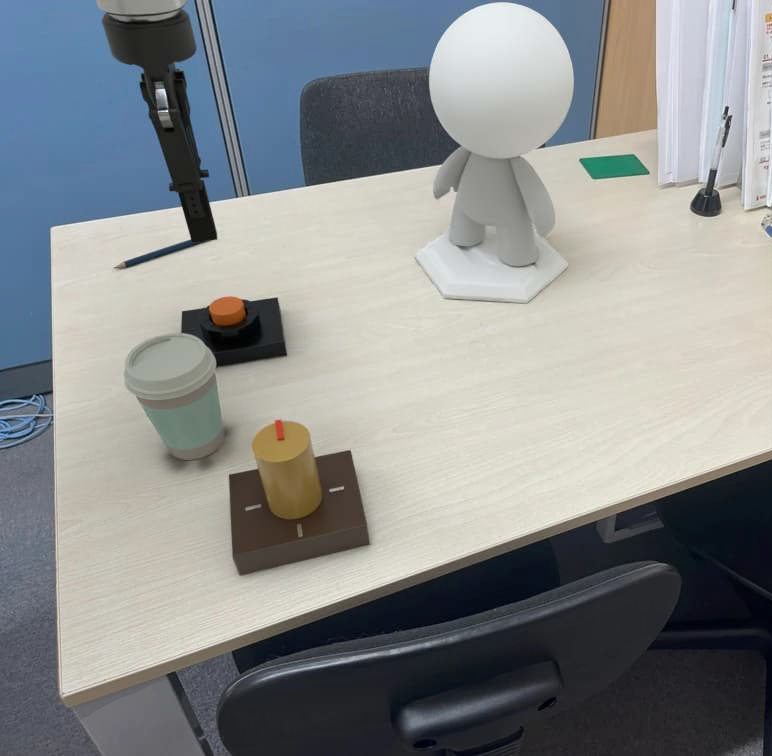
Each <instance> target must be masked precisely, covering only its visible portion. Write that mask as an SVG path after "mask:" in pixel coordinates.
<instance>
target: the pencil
mask: <svg viewBox="0 0 772 756" xmlns="http://www.w3.org/2000/svg"><path fill="white" fill-rule="evenodd" d="M205 242H207V241H201V242H192V241H191V238H190V239H187V240H185V241H181V242H178V243H174V244H172V245H168V246H166V247H163V248H160V249H157V250H153V251H150V252H147V253H145V254H142V255H138V256H135V257H133V258H130V259H127V260H124V261H122V262H121V263H119V264H117V265H116V266H114V267H113V268H112V269H113V270H114V269H127V268H130V267H134V266H135V265H139V264H142V263H145V262H148V261H151V260H155V259H158V258H160V257H163V256H166V255H169V254H172V253H175V252H178V251H181V250H184V249H188V248H191V247H193V246H196V245H200V244H203V243H205Z"/></svg>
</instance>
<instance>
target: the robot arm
mask: <svg viewBox="0 0 772 756" xmlns="http://www.w3.org/2000/svg"><path fill="white" fill-rule="evenodd" d="M95 1H96V4H97V7H98V9H99V10H101V11H102V12H103V13H104V15H103V17H102V19H101V24H102V27H103V30H104V33H105V36H106V39H107V42H108V46H109V49H110V54H111V55H112V57H113V58H114V59H115V60H116V61H118V62H119V63H122V64H124V65H128V66H132V65H134V66H137V67H139V68H141V69H142V70H143V72H140V78H141V81H139V82H138V83H139V89H140V92H141V96H142V99H143V101H144V102H145V103H146V104H147V107H148V113H147V114H148V119H149V120H150V122H151V123H152V126H153V128H154V131H155V133H156V136H157V140H158V142H159V145H160V148H161V152H162V154H163V155H162V156H163V158H164V161H165V164H166V167H167V170H168V173H169V176H170V180H171V182H170V183H168V190H169V192H171V193H172V192H175V193H177V194H178V197H179V201H180V205H181V208H182V212H183V215H184V219H185V223H186V226H187V229H188V235H189V238H190V239H191V241H192V242H201V241H206V242H208V241H216V240H218V231H217V227H216V224H215V220H214V216H213V212H212V208H211V203H210V199H209V197H208V196H209V195H208V192H207V188H206V184H205V181H204V179H207V178H210V173H209V169H201V164H202V159H201V157H200V155H199V151H198V146H197V142H196V138H195V133H194V129H193V125H192V120H191V105H190V101H189V98H188V93H187V88H188V87H187V84H188V83H187V79H186V78H187V77H186V74H185V71H184V70H181V69H180V68H176V64H175V63H181V62H184V61H187V60H189V59H190V58H192V57H193V56H195V54H196V52H197V43H196V38H195V36H194V35H195V34H194V30H193V27H192V26H193V25H192V22H191V17H190V14H189V13H188V12H187V11H186V10H185V9H184V7H185V6H186V4H187V3H188V2H187V0H95Z"/></svg>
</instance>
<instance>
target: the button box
mask: <svg viewBox="0 0 772 756" xmlns="http://www.w3.org/2000/svg"><path fill="white" fill-rule="evenodd" d="M240 299H241V300H242V301H243V305H244V308H245V312H246V317H245V319H244V320H242V321H240V322H238V323H236V324H234V325H227V326H220V325H216V324H215V323H214V322H213V321H212V317H211V314H210V311H209V306H210V304H209V305H207V306H206V307H202V308H194V309H188V310H182V311H181V322H180V325H181V326H180V327H181V328H180V333H185V334H190V335H193V336H195V337H197V338H199V339H200V340H202V341H203V343H204V344H205V345H206V346H207V347H208V348H209V349H210V350H211V352H212V353H213V355H214V357H215V359H216V368H220V367H221V368H222V367H227V366H232V365H237V364H243V363H245V364H246V363H249V362H250V363H251V362H257V361H262V360H269V359H274V358H279V357H286V356H288V352H287V351H288V350H287V345H286V338H285V331H284V326H283V318H282V310H281V306H280V301H279V297H270V298H263V299H256V300H249V299H243V298H240Z"/></svg>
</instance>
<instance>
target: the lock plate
mask: <svg viewBox="0 0 772 756" xmlns="http://www.w3.org/2000/svg"><path fill="white" fill-rule="evenodd" d="M315 461H316V466H317V470H318V475H319V480H320V485H321V489H322V500H321V503H320V504H319V506H318V507H317V508H316V510H315V511H313V512H312V513H311V514H309V515H307V516H305V517H302V518H299V519H283V518H280V517H278V516H276V515H275V514H273V513H272V511H271V510H270V508H269V504H268V501H267V498H266V494H265V491H264V487H263V484H262V480H261V477H260V474H259V470H258V468H254V469H251V470H245V471H239V472H235V473H229V474H228V483H229V484H228V486H229V487H228V489H229V506H230V507H229V513H230V514H229V515H230V532H231V533H230V535H231V556H232V557H231V558H232V559H233V562H234V565H235V567H236V571H237V573H238V575H239V576H243V575H248V574H251V573H255V572H260V571H264V570H269V569H273V568H276V567H280V566H285V565H290V564H294V563H297V562H301V561H302V562H303V561H305V560H306V561H307V560H310V559H314V558H318V557H323V556H327V555H331V554H336V553H339V552H344V551H348V550H352V549H357V548H361V547H365V546H368V545H371V542H370V541H371V540H370V534H369V528H368V522H367V518H366V513H365V509H364V504H363V500H362V495H361V489H360V486H359V482H358V481H359V480H358V477H357V472H356V467H355V463H354V459H353V453H352V450H351V449H348V450H347V449H346V450H343V451H338V452H333V453H332V452H331V453H328V454H323V455H318V456H315Z"/></svg>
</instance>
